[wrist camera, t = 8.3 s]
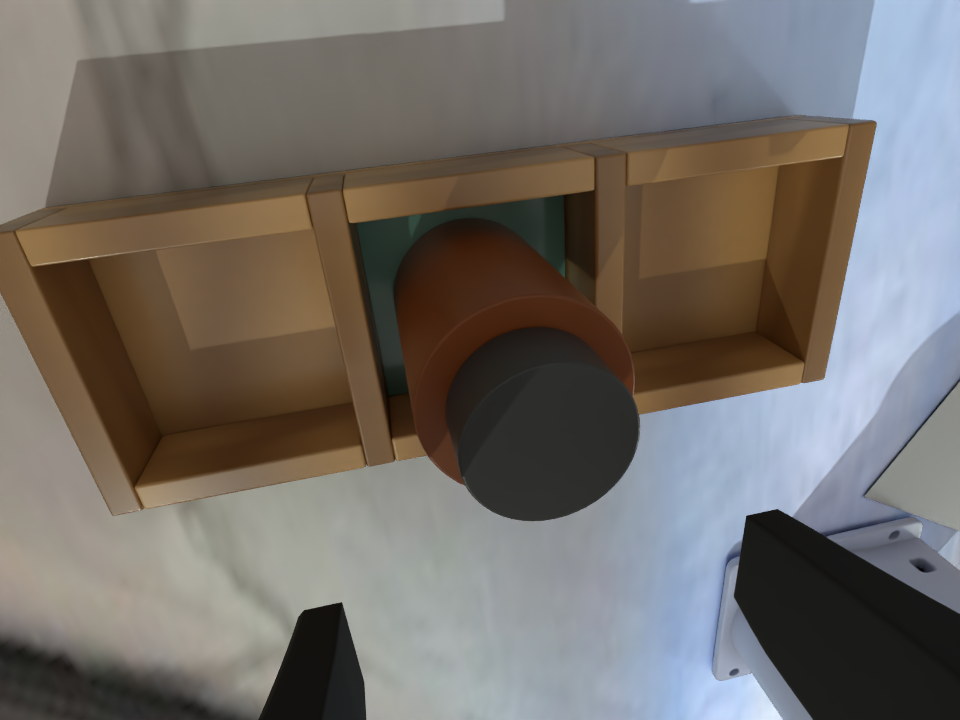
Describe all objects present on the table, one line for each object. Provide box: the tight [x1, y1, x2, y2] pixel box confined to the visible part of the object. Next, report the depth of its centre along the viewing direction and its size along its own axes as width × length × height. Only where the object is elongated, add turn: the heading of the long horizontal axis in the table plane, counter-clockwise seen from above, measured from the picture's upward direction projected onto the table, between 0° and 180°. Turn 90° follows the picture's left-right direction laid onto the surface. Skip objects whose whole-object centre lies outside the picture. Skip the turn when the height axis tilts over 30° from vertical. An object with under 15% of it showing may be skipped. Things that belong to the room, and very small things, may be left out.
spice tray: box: [0, 115, 877, 515], centre depth 16 cm, size 21×8×3 cm, turn 96°
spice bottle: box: [393, 218, 640, 521], centre depth 13 cm, size 4×4×8 cm
